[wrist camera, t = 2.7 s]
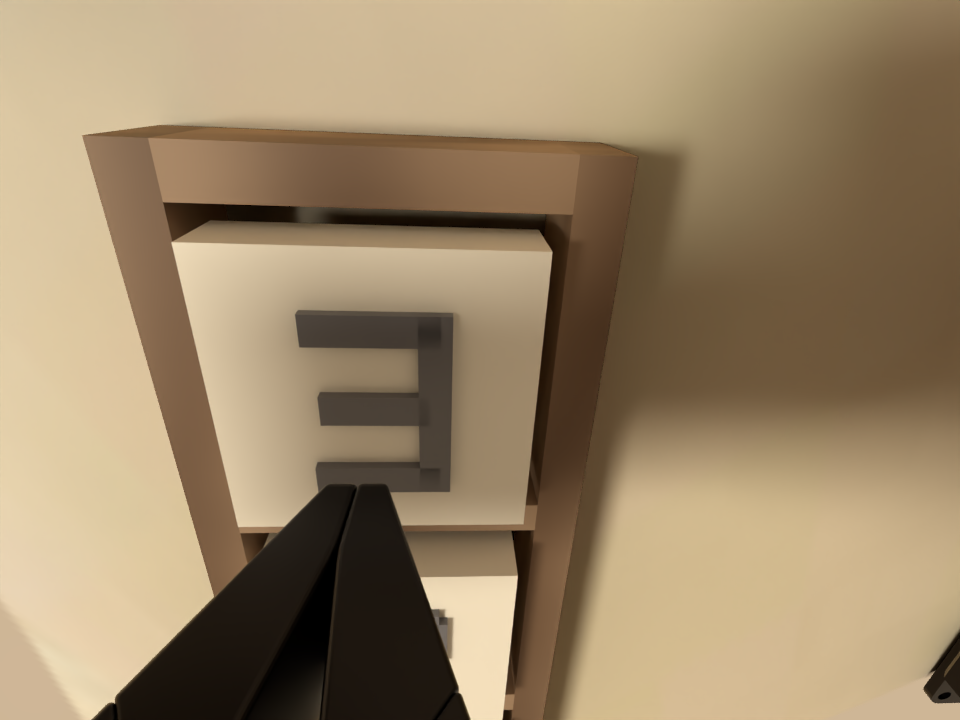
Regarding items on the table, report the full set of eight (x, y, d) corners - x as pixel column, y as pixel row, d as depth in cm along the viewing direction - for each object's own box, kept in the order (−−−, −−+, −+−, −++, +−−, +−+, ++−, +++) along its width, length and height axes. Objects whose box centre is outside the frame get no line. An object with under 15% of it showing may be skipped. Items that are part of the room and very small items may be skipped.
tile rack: (600, 142, 11) (638, 156, 9) (516, 752, 22) (524, 826, 20) (159, 125, 10) (82, 134, 8) (300, 761, 22) (283, 837, 19)
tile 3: (538, 229, 10) (554, 255, 8) (515, 478, 13) (524, 531, 11) (210, 220, 9) (165, 245, 8) (260, 479, 12) (234, 534, 11)
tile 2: (510, 527, 13) (518, 583, 12) (497, 670, 16) (502, 730, 15) (270, 529, 13) (246, 587, 11) (299, 675, 16) (283, 738, 14)
